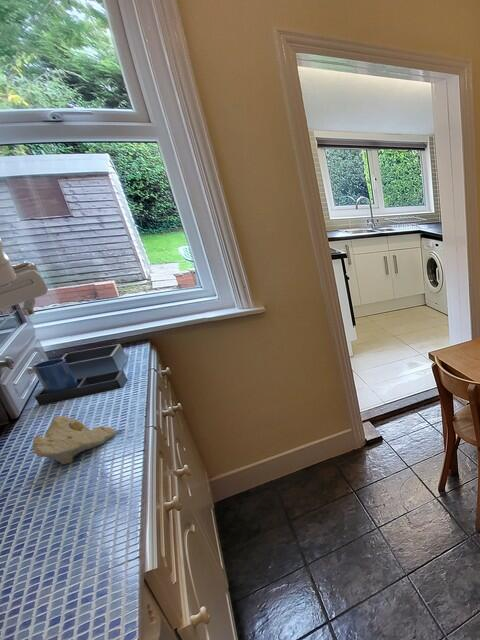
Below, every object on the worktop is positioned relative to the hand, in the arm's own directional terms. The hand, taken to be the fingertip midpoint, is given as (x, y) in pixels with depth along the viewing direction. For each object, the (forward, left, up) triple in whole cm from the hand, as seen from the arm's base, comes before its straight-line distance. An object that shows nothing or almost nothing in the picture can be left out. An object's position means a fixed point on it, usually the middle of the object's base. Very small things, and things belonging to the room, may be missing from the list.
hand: (9, 321), depth 106 cm
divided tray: (+5, +6, -25) cm, 26 cm away
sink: (+4, +27, -25) cm, 37 cm away
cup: (+1, +6, -25) cm, 26 cm away
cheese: (+13, -40, -25) cm, 49 cm away
